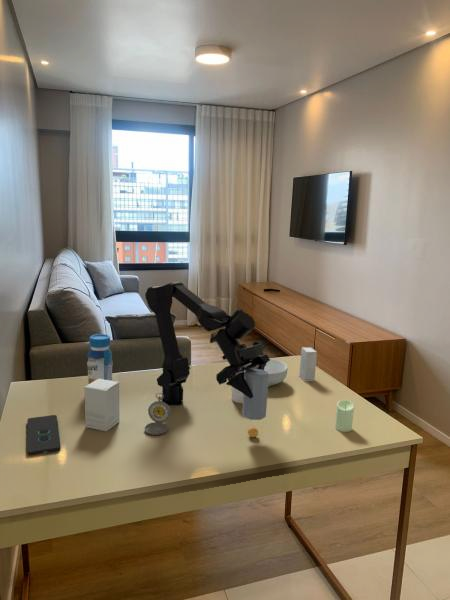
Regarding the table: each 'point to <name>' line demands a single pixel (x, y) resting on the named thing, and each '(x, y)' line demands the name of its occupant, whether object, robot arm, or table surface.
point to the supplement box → (102, 404)
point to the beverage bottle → (99, 358)
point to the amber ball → (252, 431)
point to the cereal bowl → (275, 371)
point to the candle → (344, 416)
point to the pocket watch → (158, 425)
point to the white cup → (237, 395)
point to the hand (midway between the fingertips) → (259, 394)
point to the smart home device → (42, 435)
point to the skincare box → (308, 364)
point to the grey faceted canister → (256, 394)
